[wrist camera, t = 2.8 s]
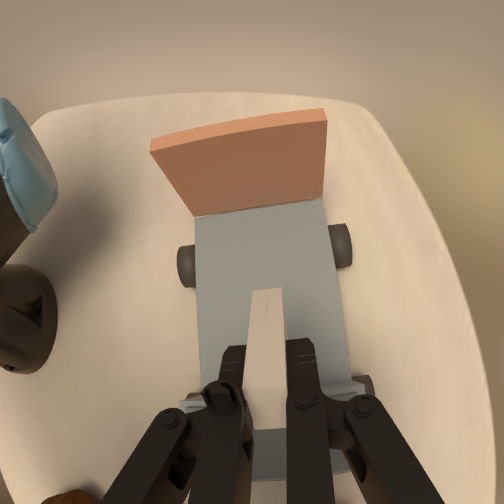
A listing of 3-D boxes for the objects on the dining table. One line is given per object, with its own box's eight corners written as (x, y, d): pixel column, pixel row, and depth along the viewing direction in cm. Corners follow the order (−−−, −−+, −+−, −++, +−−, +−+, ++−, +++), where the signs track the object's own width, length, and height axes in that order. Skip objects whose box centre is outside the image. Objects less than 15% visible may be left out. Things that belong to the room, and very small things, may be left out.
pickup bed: (368, 433, 23) (398, 463, 14) (203, 448, 24) (161, 479, 16) (336, 216, 31) (347, 160, 22) (190, 237, 32) (152, 191, 24)
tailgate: (321, 198, 27) (327, 120, 18) (194, 217, 28) (149, 151, 19) (318, 182, 28) (321, 103, 18) (194, 202, 29) (152, 134, 20)
